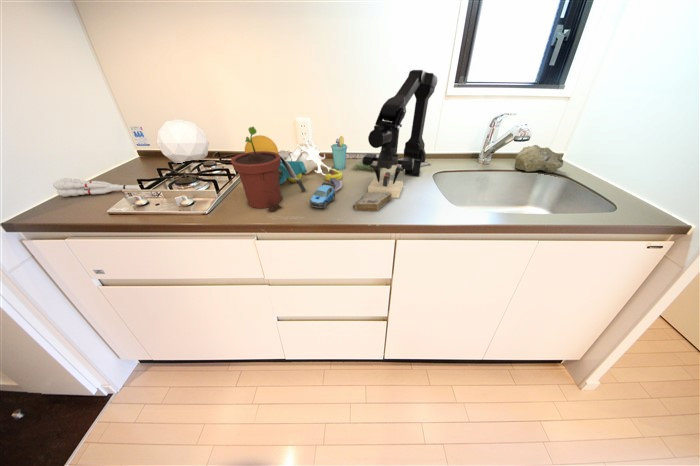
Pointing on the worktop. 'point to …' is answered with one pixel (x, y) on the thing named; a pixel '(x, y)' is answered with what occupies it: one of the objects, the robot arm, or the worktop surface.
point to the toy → (261, 144)
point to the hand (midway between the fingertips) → (386, 182)
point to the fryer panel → (392, 188)
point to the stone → (372, 201)
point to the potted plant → (261, 176)
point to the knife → (334, 178)
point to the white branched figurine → (312, 158)
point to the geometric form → (182, 141)
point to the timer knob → (386, 179)
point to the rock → (538, 159)
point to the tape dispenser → (296, 167)
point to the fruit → (296, 177)
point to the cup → (339, 153)
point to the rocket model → (87, 187)
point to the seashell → (284, 155)
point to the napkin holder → (421, 163)
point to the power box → (364, 167)
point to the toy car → (323, 196)
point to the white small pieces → (295, 154)
